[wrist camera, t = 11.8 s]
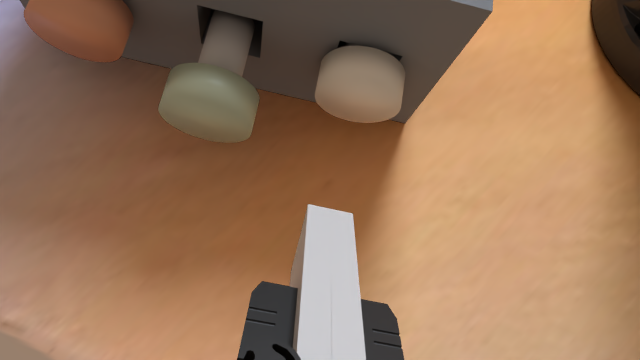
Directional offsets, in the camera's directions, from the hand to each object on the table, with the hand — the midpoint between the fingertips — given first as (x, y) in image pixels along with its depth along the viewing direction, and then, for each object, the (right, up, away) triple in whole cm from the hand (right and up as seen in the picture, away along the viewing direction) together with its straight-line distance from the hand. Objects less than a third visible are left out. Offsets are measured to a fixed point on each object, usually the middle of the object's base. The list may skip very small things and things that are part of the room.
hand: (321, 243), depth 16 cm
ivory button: (+2, +8, +11) cm, 14 cm away
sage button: (-5, +7, +10) cm, 13 cm away
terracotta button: (-12, +11, +10) cm, 19 cm away
